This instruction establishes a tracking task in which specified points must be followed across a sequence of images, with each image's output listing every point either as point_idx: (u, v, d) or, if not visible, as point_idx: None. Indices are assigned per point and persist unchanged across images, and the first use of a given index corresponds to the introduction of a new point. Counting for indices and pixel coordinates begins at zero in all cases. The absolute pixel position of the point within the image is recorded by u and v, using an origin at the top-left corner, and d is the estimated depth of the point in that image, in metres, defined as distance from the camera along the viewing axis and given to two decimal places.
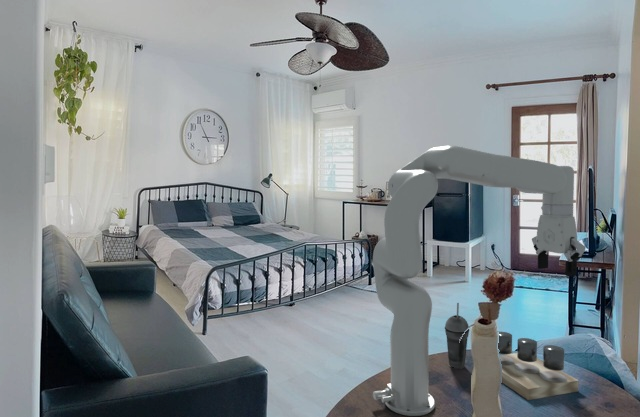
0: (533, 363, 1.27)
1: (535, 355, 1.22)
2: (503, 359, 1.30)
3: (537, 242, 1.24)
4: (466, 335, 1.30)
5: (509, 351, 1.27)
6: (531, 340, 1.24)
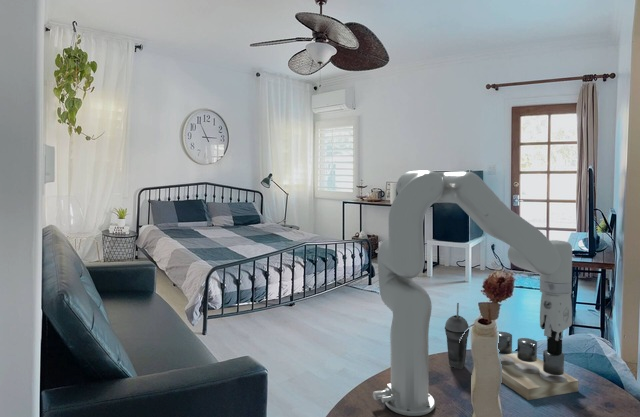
0: (533, 363, 1.27)
1: (535, 355, 1.22)
2: (503, 359, 1.30)
3: (558, 326, 1.13)
4: (466, 335, 1.30)
5: (509, 351, 1.27)
6: (531, 340, 1.24)
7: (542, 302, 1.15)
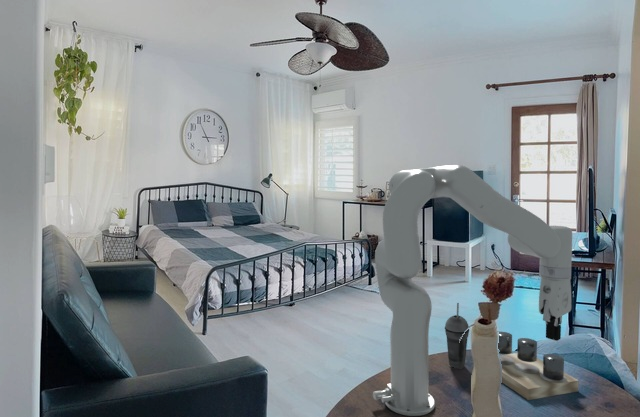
0: (533, 363, 1.27)
1: (535, 355, 1.22)
2: (503, 359, 1.30)
3: (557, 311, 1.12)
4: (466, 335, 1.30)
5: (509, 351, 1.27)
6: (531, 340, 1.24)
7: (541, 287, 1.15)
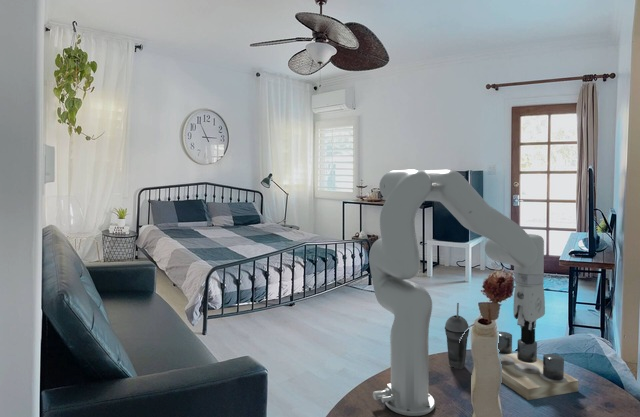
0: (533, 363, 1.27)
1: (535, 356, 1.22)
2: (503, 359, 1.30)
3: (530, 316, 1.18)
4: (466, 335, 1.30)
5: (509, 351, 1.27)
6: None
7: (515, 293, 1.20)
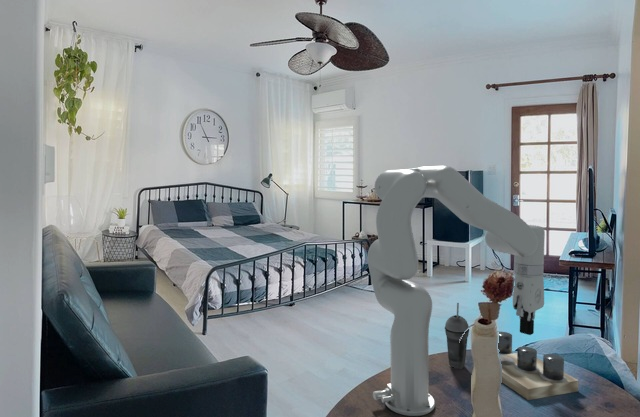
0: None
1: (535, 364, 1.22)
2: (503, 359, 1.30)
3: (530, 306, 1.18)
4: (466, 335, 1.30)
5: (509, 351, 1.27)
6: (531, 348, 1.24)
7: (515, 283, 1.20)
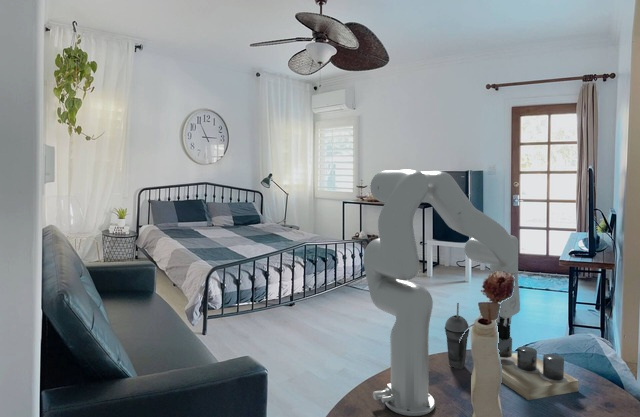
0: None
1: (535, 364, 1.22)
2: (503, 359, 1.30)
3: (505, 313, 1.24)
4: (466, 335, 1.30)
5: (509, 354, 1.27)
6: (531, 348, 1.24)
7: None
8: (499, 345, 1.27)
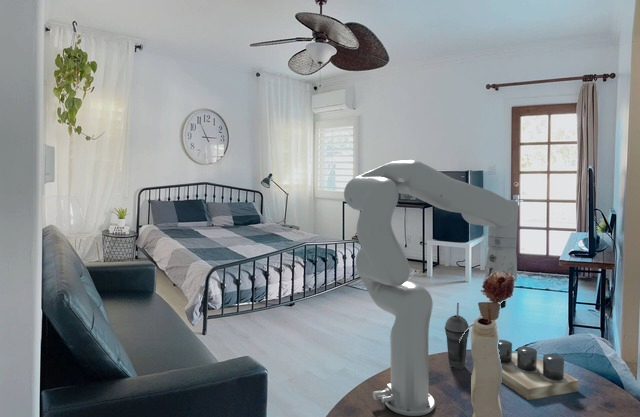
0: None
1: (535, 364, 1.22)
2: None
3: None
4: (466, 335, 1.30)
5: (509, 360, 1.27)
6: (531, 348, 1.24)
7: (488, 256, 1.21)
8: None
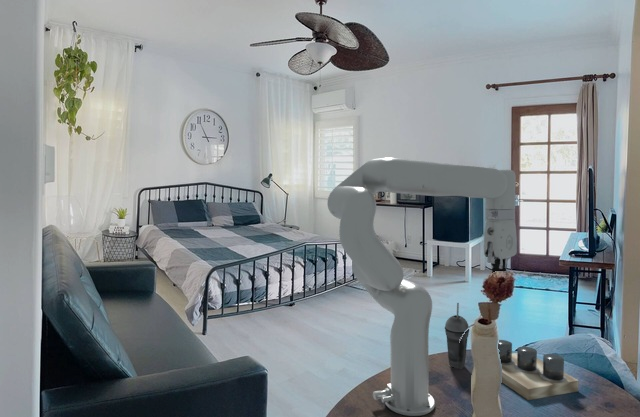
0: None
1: (535, 364, 1.22)
2: None
3: (501, 252, 1.13)
4: (466, 335, 1.30)
5: (509, 360, 1.27)
6: (531, 348, 1.24)
7: (486, 229, 1.16)
8: None
